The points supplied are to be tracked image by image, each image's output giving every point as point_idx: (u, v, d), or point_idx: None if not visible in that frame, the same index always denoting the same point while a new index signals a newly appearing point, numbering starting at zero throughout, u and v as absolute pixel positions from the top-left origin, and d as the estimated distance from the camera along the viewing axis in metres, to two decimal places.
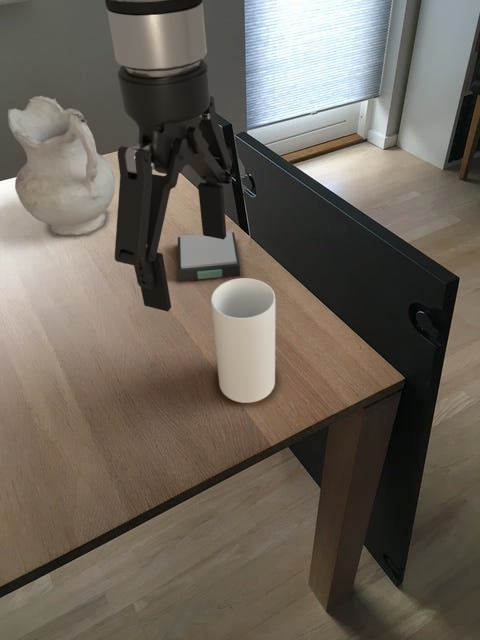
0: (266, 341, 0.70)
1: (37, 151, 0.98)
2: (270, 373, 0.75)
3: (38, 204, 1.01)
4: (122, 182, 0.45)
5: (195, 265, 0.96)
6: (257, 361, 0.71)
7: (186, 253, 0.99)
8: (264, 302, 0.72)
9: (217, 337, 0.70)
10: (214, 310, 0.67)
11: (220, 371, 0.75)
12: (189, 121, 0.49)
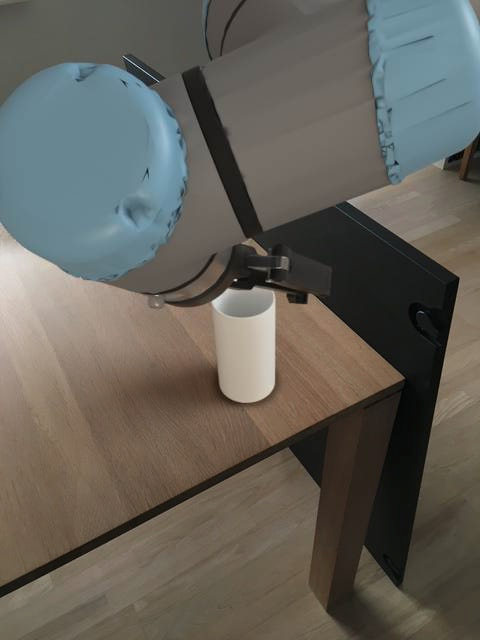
0: (266, 341, 0.70)
1: None
2: (270, 373, 0.75)
3: None
4: (293, 281, 0.40)
5: None
6: (257, 361, 0.71)
7: None
8: (264, 302, 0.72)
9: (217, 337, 0.70)
10: (214, 310, 0.67)
11: (220, 371, 0.75)
12: None
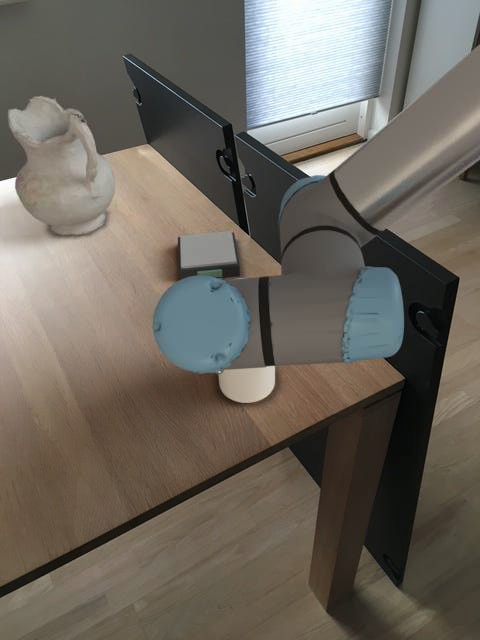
0: None
1: (37, 151, 0.98)
2: (270, 373, 0.75)
3: (38, 204, 1.01)
4: None
5: (195, 265, 0.96)
6: None
7: (186, 253, 0.99)
8: None
9: None
10: None
11: None
12: None
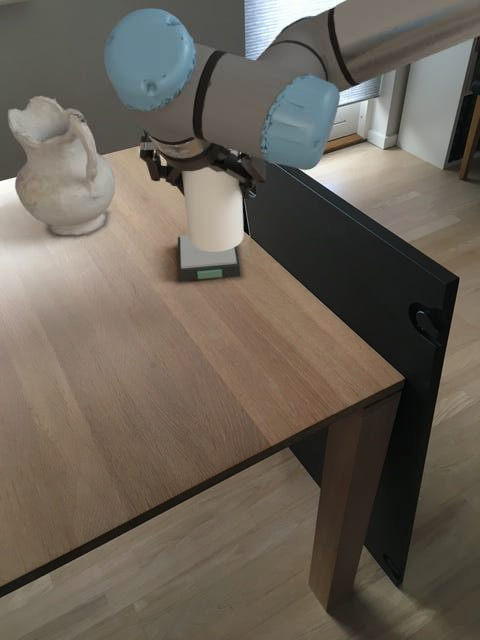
0: (231, 179, 0.72)
1: (37, 151, 0.98)
2: (237, 220, 0.77)
3: (38, 204, 1.01)
4: (252, 163, 0.65)
5: (195, 265, 0.96)
6: (223, 201, 0.74)
7: (186, 253, 0.99)
8: None
9: (184, 176, 0.73)
10: None
11: (189, 219, 0.77)
12: None
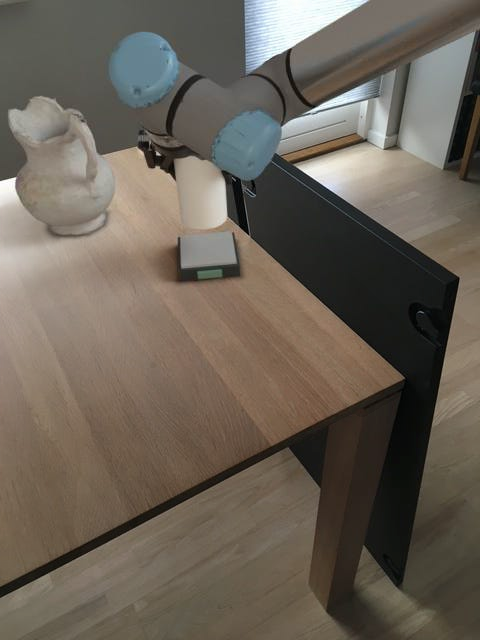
0: (215, 167, 0.86)
1: (37, 151, 0.98)
2: (221, 202, 0.91)
3: (38, 204, 1.01)
4: None
5: (195, 265, 0.96)
6: (208, 185, 0.87)
7: (186, 253, 0.99)
8: None
9: (176, 164, 0.87)
10: None
11: (180, 201, 0.91)
12: None
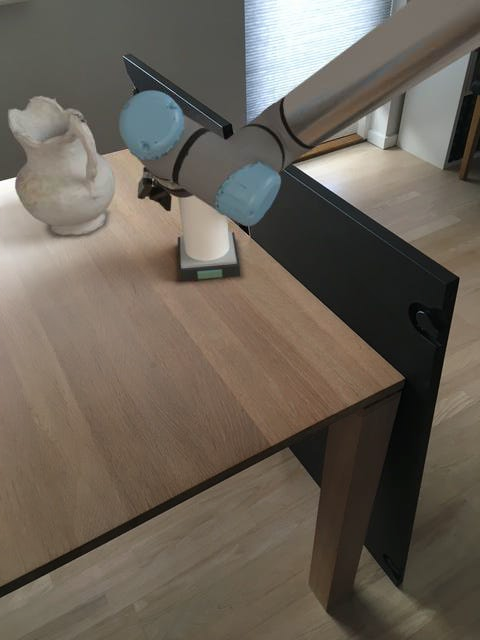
0: None
1: (37, 151, 0.98)
2: (223, 235, 0.95)
3: (38, 204, 1.01)
4: None
5: (195, 265, 0.96)
6: (211, 220, 0.92)
7: None
8: None
9: (180, 201, 0.91)
10: None
11: (184, 234, 0.96)
12: None
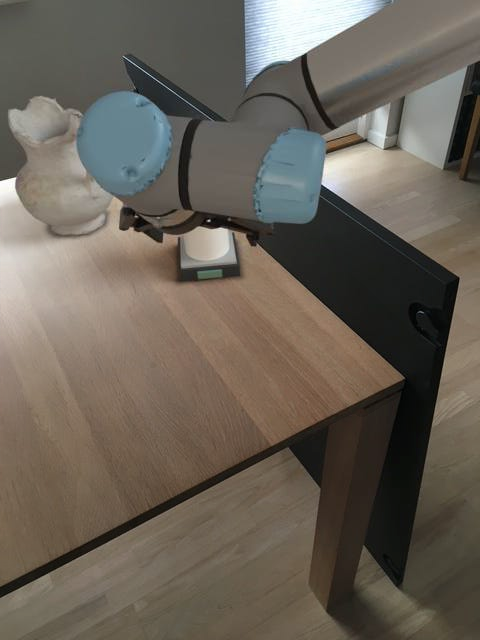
0: None
1: (37, 151, 0.98)
2: (223, 235, 0.95)
3: (38, 204, 1.01)
4: (245, 220, 0.62)
5: (195, 265, 0.96)
6: None
7: None
8: None
9: None
10: None
11: (184, 234, 0.96)
12: None
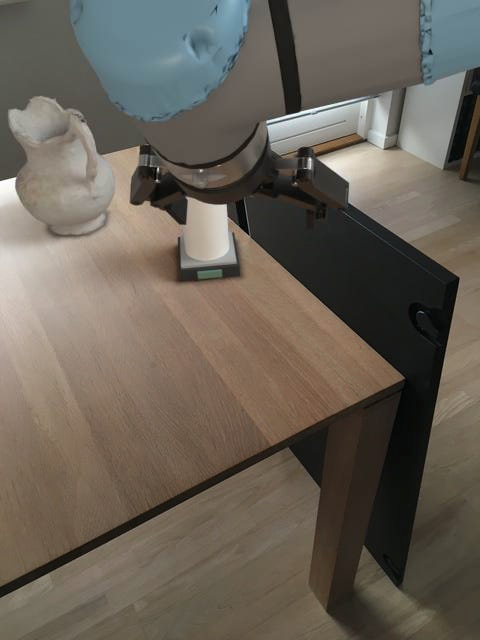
0: None
1: (37, 151, 0.98)
2: (223, 235, 0.95)
3: (38, 204, 1.01)
4: (317, 186, 0.43)
5: (195, 265, 0.96)
6: (211, 220, 0.92)
7: None
8: None
9: None
10: None
11: (184, 234, 0.96)
12: None
